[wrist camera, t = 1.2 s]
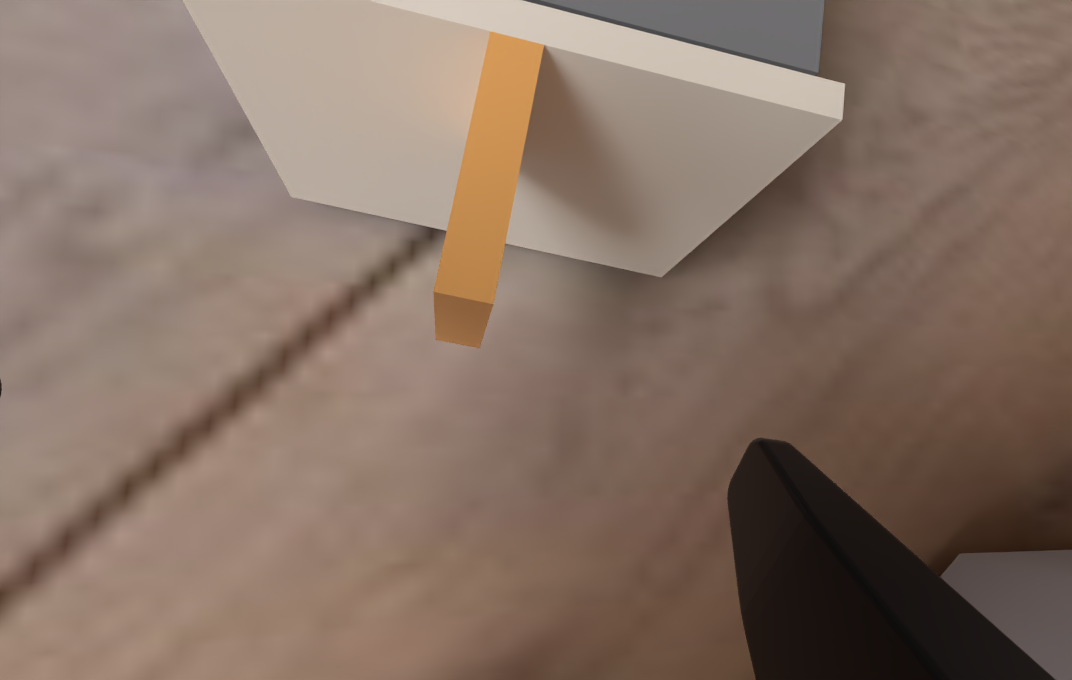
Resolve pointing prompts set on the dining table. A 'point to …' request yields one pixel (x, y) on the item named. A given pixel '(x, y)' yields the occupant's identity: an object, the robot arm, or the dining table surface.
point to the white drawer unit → (511, 128)
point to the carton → (721, 25)
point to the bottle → (1023, 600)
